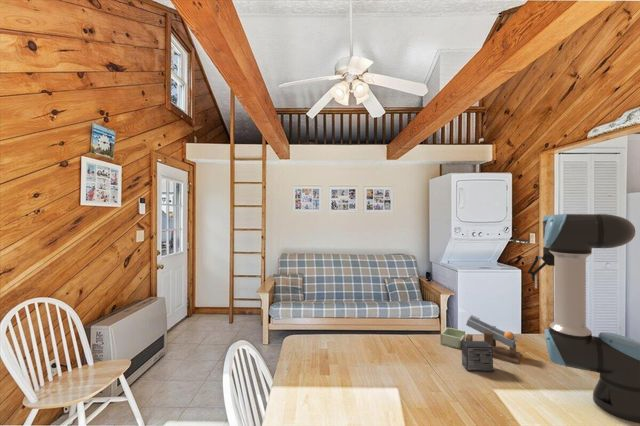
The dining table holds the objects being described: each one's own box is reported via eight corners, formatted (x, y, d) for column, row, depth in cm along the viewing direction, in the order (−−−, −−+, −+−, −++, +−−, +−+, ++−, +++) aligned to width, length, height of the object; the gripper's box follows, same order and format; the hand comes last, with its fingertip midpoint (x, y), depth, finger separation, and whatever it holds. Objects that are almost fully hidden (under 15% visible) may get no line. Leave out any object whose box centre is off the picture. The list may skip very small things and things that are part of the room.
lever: (512, 348, 134) (516, 340, 133) (464, 324, 146) (467, 316, 145) (515, 338, 145) (518, 330, 144) (470, 316, 157) (473, 309, 156)
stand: (518, 363, 131) (518, 339, 131) (461, 349, 145) (460, 327, 145) (520, 354, 140) (520, 331, 140) (466, 341, 154) (466, 320, 154)
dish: (460, 349, 145) (459, 338, 145) (440, 344, 151) (440, 333, 151) (465, 341, 154) (465, 331, 154) (446, 337, 160) (446, 327, 160)
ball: (512, 343, 135) (514, 335, 135) (502, 339, 138) (504, 331, 137) (513, 340, 138) (515, 332, 138) (503, 336, 141) (505, 328, 140)
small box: (486, 364, 131) (486, 340, 131) (493, 372, 124) (493, 347, 124) (461, 363, 132) (461, 339, 132) (466, 371, 125) (466, 346, 125)
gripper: (585, 247, 144) (586, 292, 144) (522, 244, 160) (523, 285, 160) (586, 249, 138) (587, 295, 138) (521, 245, 154) (521, 287, 154)
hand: (552, 290), depth 149 cm, fingers open, 13 cm apart
